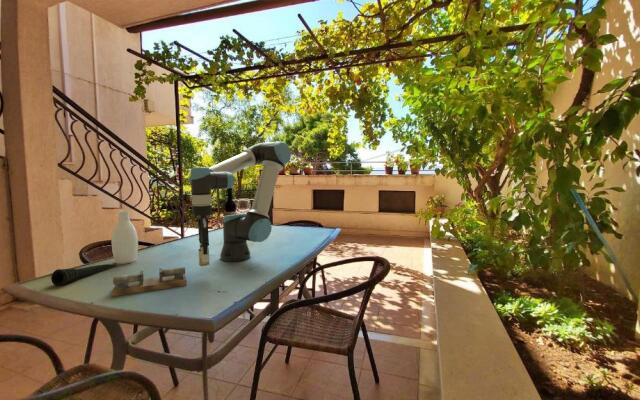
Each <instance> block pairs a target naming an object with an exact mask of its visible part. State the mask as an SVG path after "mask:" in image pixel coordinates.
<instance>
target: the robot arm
mask: <svg viewBox="0 0 640 400" xmlns="http://www.w3.org/2000/svg"><path fill="white" fill-rule="evenodd" d="M291 157H292V152H291V149H290V147H289V145H288V144H287V143H286V141H285V142H284V141H278V140H277V141H269V142H267V141H266V142H260V143H257V144H254V145H252V146H249V147H247V148H245V149H243V150H242V152H241V153H239V154H236V155H235V156H232V157H230V158H228V159H225V160H223V161H222V162H219V163H218V164H215V165H212V166H210V167H206V166H205V167H204V166H203V167H199V166H196V167H195V166H193V167H192V168H191V169H190V175H189V177H188V183H189V185H190V190H191V191H190V192H191V196H190V197H189V200H191V204H192V206H191V210H192V211H191V212H192V216H198V218H196V221H197V228H198V241H199V249H201V254H202V262H208V261H209V262H210V249H209V250H208V248H209V246H210V240H209V218H208V217H207V216H208V215H212V213H213V207H212V202H213V201H212V200H213V199H212V190H227V189H231V188H233V187H234V185H235V183H236V182H235V181H236V179H235V175H234V174H235V173H237V172H240V171H241V170H243V169H245V168H248V167H254V166H257V165H262V167H263V168H262V171H261V173H260V177H259V180H258V184H257V188H256V191H255V193H254V198H253V200H252V201H253V202H252V205H251V209H249V210H247V211H246V213H238V214H237V213H236V214H235V213H234V214H227V215H225V216H223V219H222V222H223V223H222V230H223V231H222V233H223V245H222V248H221V252H220V255H219V256H220V260H221V261H223V262H224V261H225V262H232V263H233V262H241V261H246V260H248V259H250V258H251V252H250V249H249V245H248V242H247V241H249V242H253V243H262V242H264V241H266V240H267V239H269V237H270V235H271V232H272V222H271V221H270V216H269V211H270V206H271V202H272V200H273V196H274V193H275V188H276V185H277V181H278V178H279V173H280V172H281V171H282V170H284V167H285V165H286V164H288V163H289V162H290V161H291V159H292V158H291Z"/></svg>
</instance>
